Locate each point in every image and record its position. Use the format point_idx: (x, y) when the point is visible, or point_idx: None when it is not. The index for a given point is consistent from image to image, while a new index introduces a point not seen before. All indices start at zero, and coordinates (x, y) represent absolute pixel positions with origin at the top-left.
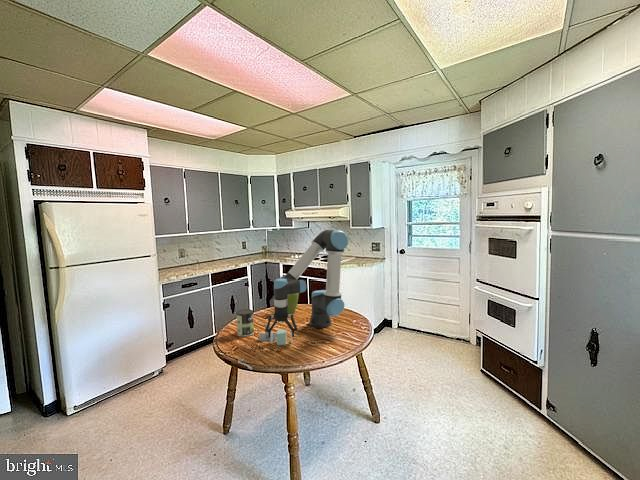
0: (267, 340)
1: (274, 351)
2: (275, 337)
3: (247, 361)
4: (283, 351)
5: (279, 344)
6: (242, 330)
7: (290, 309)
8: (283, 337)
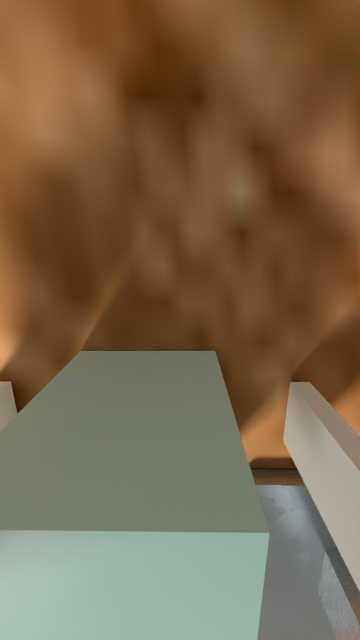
0: None
1: (235, 89)
2: None
3: None
4: (70, 80)
5: (173, 351)
6: None
7: None
8: (62, 422)
